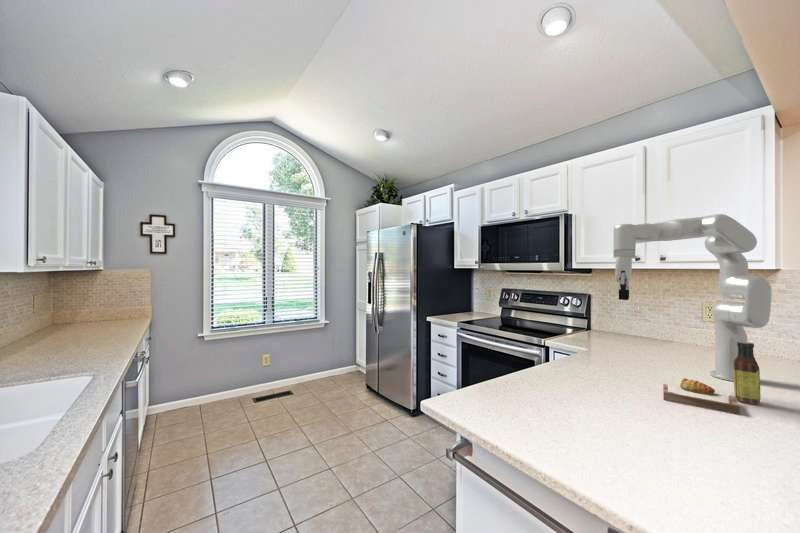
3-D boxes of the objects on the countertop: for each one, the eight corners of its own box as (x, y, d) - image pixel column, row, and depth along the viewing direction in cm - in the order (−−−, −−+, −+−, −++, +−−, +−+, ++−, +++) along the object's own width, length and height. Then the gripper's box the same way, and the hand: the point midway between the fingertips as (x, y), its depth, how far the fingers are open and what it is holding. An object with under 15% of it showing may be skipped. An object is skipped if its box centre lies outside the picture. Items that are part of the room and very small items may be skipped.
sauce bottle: (766, 406, 110) (766, 345, 110) (743, 404, 111) (743, 344, 112) (749, 398, 117) (749, 341, 117) (728, 397, 118) (728, 340, 118)
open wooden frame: (663, 390, 123) (663, 383, 123) (733, 403, 112) (733, 396, 112) (663, 399, 114) (663, 392, 115) (739, 414, 103) (739, 406, 103)
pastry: (717, 393, 122) (717, 383, 122) (711, 397, 118) (711, 386, 118) (684, 386, 130) (684, 376, 130) (678, 389, 126) (678, 379, 126)
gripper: (615, 255, 147) (615, 297, 147) (611, 253, 134) (610, 300, 134) (636, 255, 142) (636, 298, 142) (634, 253, 129) (633, 301, 129)
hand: (623, 299), depth 138 cm, fingers open, 3 cm apart
